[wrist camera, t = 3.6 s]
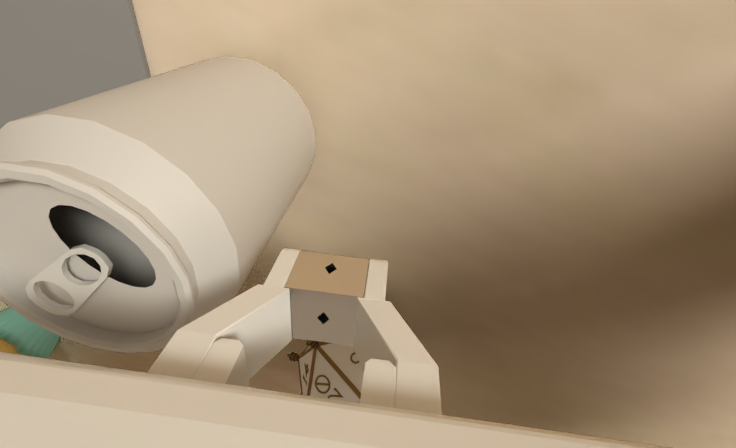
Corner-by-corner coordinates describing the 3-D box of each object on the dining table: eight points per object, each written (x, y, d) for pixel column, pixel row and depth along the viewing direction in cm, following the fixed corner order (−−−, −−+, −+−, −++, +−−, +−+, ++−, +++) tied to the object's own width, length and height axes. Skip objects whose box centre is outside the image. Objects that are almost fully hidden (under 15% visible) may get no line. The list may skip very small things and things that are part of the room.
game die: (347, 295, 30) (241, 374, 24) (392, 255, 23) (259, 350, 17) (414, 385, 29) (317, 493, 23) (482, 370, 22) (370, 517, 16)
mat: (97, -138, 14) (91, -140, 13) (197, 262, 25) (194, 265, 24) (-272, -164, 15) (-284, -167, 14) (-17, 233, 26) (-21, 235, 25)
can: (349, 144, 19) (271, 316, 9) (257, 213, 22) (124, 398, 12) (242, 16, 16) (-46, 53, 6) (155, 115, 19) (-130, 249, 9)
